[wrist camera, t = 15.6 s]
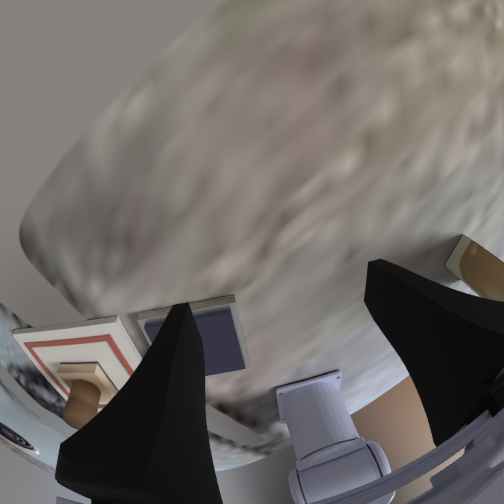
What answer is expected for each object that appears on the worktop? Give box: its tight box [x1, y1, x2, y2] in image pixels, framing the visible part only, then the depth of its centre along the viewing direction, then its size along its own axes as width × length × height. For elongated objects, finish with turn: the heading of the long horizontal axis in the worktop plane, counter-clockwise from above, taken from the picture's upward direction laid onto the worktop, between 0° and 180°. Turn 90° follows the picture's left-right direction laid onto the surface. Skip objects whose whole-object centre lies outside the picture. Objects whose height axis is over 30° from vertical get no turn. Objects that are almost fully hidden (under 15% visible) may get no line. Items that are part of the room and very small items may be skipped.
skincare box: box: [445, 234, 504, 302], centre depth 19 cm, size 6×4×12 cm
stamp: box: [57, 361, 119, 430], centre depth 20 cm, size 5×5×6 cm
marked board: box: [12, 316, 142, 412], centre depth 23 cm, size 14×14×1 cm
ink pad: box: [137, 295, 251, 376], centre depth 22 cm, size 8×8×2 cm
